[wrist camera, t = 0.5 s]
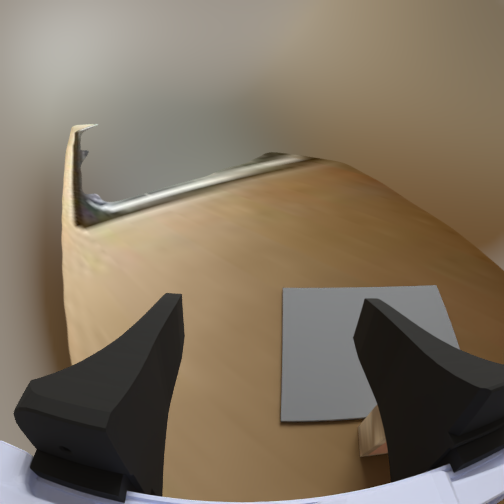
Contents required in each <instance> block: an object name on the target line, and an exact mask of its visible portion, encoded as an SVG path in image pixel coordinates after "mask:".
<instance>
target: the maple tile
mask: <svg viewBox="0 0 504 504" xmlns="http://www.w3.org/2000/svg"><path fill="white" fill-rule="evenodd" d="M358 434H359V450H360V457H364V456H372V455H379V454H386V453H388V449H387V443H386V438H385V433H384V428H383V424H382V420H381V416H380V412H379V408H378V405H376V406H375V407H374V409H373V410H372V411H371V412H370V413H369V415H368V416H367V417H366V418H365V419H364V421H363V422H362V423H361V424H360V425H359V426H358Z"/></svg>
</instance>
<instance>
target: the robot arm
mask: <svg viewBox="0 0 504 504" xmlns="http://www.w3.org/2000/svg"><path fill="white" fill-rule="evenodd" d="M184 336H185V335H184V322H183V307H182V294H172V293H166V294H165V295H163V296H162V297H161V298H160V299H159V301H158V302H157V303H156V304H155V305H154V306H153V307H152V308H151V309H150V310H149V311H148V312H147V313H146V314H145V315H144V316H143V317H142V318H141V319H140V320H139V321H138V322H137V323H135V324H134V325H133V326H132V327H131V328H130V329H129V330H127V331H126V332H125V333H124V334H123V335H122V336H120V337H119V338H118V339H116V340H115V341H114V342H112V343H111V344H109V345H108V346H106V347H105V348H103V349H102V350H100V351H98V352H97V353H95V354H93V355H92V356H90V357H88V358H86V359H85V360H83V361H81V362H79V363H77V364H75V365H72V366H71V367H68V368H66V369H63V370H61V371H58V372H56V373H53V374H50V375H47V376H44V377H41V378H38V379H34V380H31V381H30V383H29V384H28V387H27V388H26V390H25V391H24V393H23V395H22V397H21V399H20V401H19V403H18V405H17V406H16V408H15V411H14V417H15V420H16V423H17V424H18V426H19V427H20V429H21V430H22V431H23V433H24V434H25V435H26V437H27V438H28V439H29V440H30V442H31V443H32V444H33V445H34V446H35V448H36V449H37V450H36V453H35V455H34V457H33V456H32V455H31V454H29V453H27V452H26V451H24V450H22V449H20V448H17V447H15V446H13V445H11V444H8V443H6V442H4V441H0V504H497V503H498V502H500V501H501V500H503V499H504V365H503V364H498V363H495V362H491V361H488V360H485V359H482V358H479V357H476V356H474V355H471V354H469V353H466V352H464V351H462V350H459V349H457V348H455V347H453V346H451V345H449V344H448V343H446V342H444V341H442V340H440V339H438V338H437V337H435V336H433V335H432V334H430V333H429V332H427V331H426V330H424V329H422V328H421V327H419V326H418V325H417V324H415V323H414V322H412V321H411V320H409V319H408V318H407V317H405V316H404V315H402V314H401V313H400V312H398V311H397V310H395V309H394V308H392V307H391V306H390V305H388V304H387V303H385V302H383V301H382V300H380V299H378V298H365V299H364V303H363V306H362V310H361V313H360V316H359V320H358V323H357V326H356V330H355V333H354V336H353V340H354V344H355V348H356V352H357V355H358V359H359V361H360V364H361V366H362V368H363V371H364V373H365V375H366V378H367V380H368V383H369V385H370V387H371V390H372V392H373V395H374V397H375V399H376V402H377V405H378V408H379V412H380V416H381V420H382V424H383V428H384V433H385V438H386V443H387V449H388V456H389V463H390V475H391V483H388V484H385V485H381V486H376V487H372V488H368V489H363V490H358V491H353V492H348V493H343V494H337V495H331V496H324V497H317V498H308V499H299V500H288V501H272V502H211V501H196V500H185V499H176V498H167V497H162V488H163V465H164V450H165V439H166V429H167V420H168V412H169V407H170V402H171V398H172V394H173V390H174V386H175V382H176V378H177V375H178V371H179V367H180V363H181V359H182V352H183V344H184Z"/></svg>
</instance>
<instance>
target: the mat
mask: <svg viewBox="0 0 504 504" xmlns="http://www.w3.org/2000/svg"><path fill="white" fill-rule="evenodd" d="M365 298H378V299H380V300H382V301H383V302H385V303H387V304H388V305H390V306H391V307H392V308H394V309H395V310H397V311H398V312H400V313H401V314H402V315H404V316H405V317H407V318H408V319H409V320H411V321H412V322H414V323H415V324H417V325H418V326H419V327H421V328H422V329H424V330H426V331H427V332H429V333H430V334H432V335H433V336H435V337H437V338H438V339H440V340H442V341H444V342H446V343H448V344H449V345H451V346H453V347H455V348H457V349H459V350H460V348H459V345H458V342H457V339H456V336H455V333H454V331H453V328H452V325H451V322H450V319H449V317H448V314H447V311H446V309H445V306H444V303H443V301H442V298H441V296H440V293H439V291H438V288H437V286H436V285H432V286H403V287H360V288H283V347H282V396H281V422H317V421H337V420H352V419H363V418H366V417H367V416H368V415H369V413H370V412H371V411H372V410H373V409H374V407H375V406H376V405H377V402H376V399H375V397H374V395H373V392H372V390H371V387H370V385H369V383H368V380H367V378H366V375H365V373H364V371H363V368H362V366H361V364H360V361H359V359H358V355H357V352H356V348H355V344H354V340H353V336H354V333H355V330H356V326H357V323H358V320H359V316H360V313H361V310H362V306H363V303H364V299H365Z"/></svg>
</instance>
